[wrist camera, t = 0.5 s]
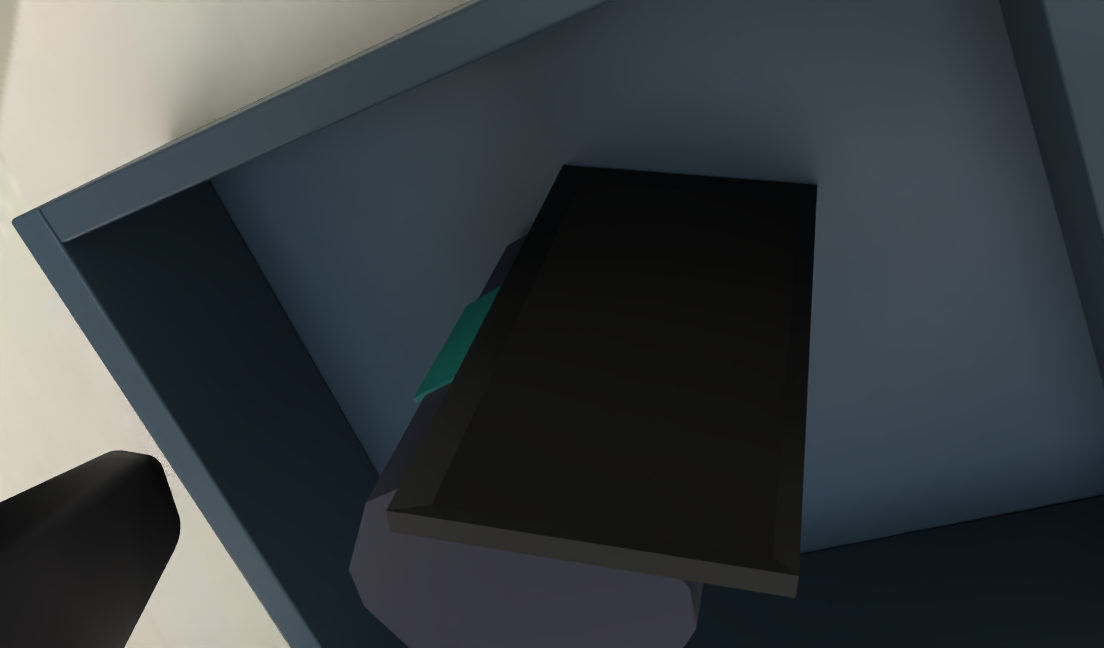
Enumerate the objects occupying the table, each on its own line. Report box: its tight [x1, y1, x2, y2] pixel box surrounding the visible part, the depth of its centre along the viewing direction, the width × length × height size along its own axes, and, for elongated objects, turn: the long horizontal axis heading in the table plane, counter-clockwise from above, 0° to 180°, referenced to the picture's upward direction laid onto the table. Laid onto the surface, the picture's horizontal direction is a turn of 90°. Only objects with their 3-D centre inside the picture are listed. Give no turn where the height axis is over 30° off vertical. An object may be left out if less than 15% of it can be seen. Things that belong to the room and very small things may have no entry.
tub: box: [12, 0, 1104, 648], centre depth 20 cm, size 19×16×5 cm
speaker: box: [349, 165, 817, 648], centre depth 18 cm, size 8×6×10 cm
